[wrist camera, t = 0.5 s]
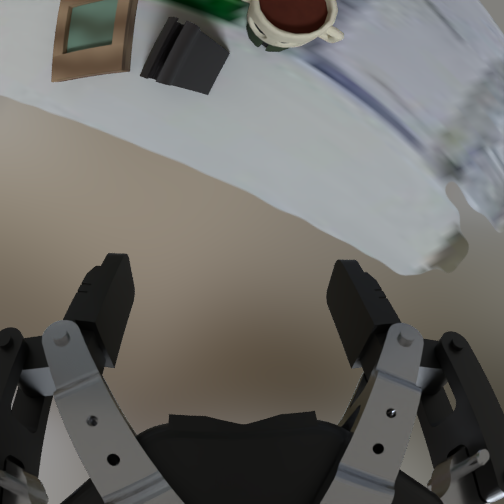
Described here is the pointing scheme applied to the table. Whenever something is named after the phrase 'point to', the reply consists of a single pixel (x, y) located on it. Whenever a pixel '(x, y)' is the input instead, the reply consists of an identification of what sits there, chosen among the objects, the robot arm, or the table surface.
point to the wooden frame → (93, 38)
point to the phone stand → (185, 57)
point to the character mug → (291, 22)
